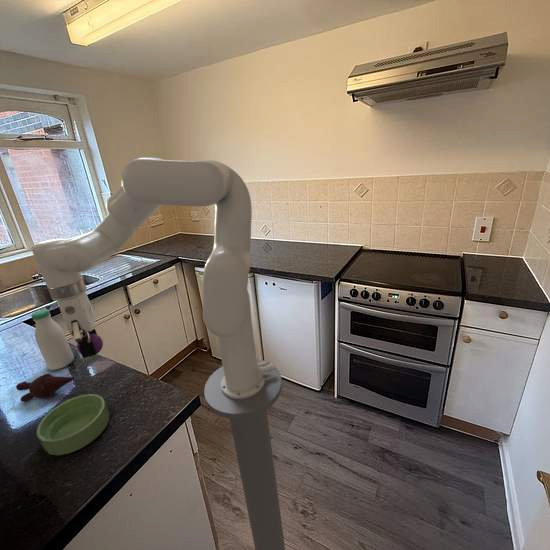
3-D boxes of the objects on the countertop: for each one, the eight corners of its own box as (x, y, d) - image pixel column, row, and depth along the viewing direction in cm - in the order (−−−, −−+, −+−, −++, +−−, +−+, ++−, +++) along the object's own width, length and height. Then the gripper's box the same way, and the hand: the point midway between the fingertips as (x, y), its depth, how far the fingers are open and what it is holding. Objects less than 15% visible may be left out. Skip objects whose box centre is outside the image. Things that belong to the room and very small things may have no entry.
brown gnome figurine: (75, 362, 91) (22, 377, 89) (63, 372, 84) (5, 388, 82) (83, 383, 92) (30, 398, 90) (71, 394, 85) (14, 411, 83)
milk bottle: (76, 362, 103) (56, 310, 95) (50, 373, 98) (26, 320, 91) (71, 353, 108) (51, 304, 101) (46, 364, 103) (23, 313, 96)
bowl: (111, 401, 83) (106, 387, 82) (108, 440, 71) (102, 424, 69) (52, 421, 78) (44, 407, 76) (37, 467, 66) (28, 451, 64)
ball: (106, 345, 85) (99, 327, 83) (104, 356, 80) (97, 337, 78) (82, 352, 83) (75, 333, 81) (79, 364, 78) (71, 344, 76)
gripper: (79, 297, 68) (104, 361, 75) (89, 275, 83) (109, 330, 90) (41, 306, 66) (70, 372, 72) (58, 282, 81) (80, 338, 87)
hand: (91, 348), depth 81 cm, fingers closed on ball, 5 cm apart
